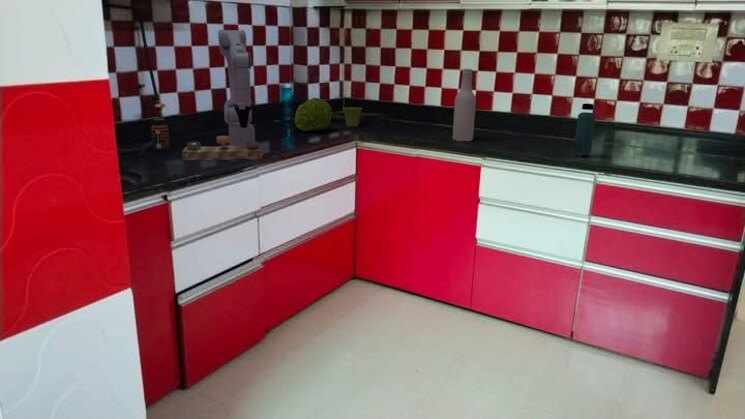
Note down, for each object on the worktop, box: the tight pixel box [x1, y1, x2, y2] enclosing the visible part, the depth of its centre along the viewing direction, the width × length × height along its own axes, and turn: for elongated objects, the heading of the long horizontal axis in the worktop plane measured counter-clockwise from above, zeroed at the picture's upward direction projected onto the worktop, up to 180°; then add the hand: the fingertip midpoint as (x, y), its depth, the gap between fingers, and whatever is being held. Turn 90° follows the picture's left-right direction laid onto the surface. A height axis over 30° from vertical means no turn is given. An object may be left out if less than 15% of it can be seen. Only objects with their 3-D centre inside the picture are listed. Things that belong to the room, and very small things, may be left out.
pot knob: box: [216, 135, 230, 148], centre depth 198 cm, size 4×4×4 cm
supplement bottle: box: [150, 118, 171, 151], centre depth 208 cm, size 6×6×11 cm
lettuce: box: [294, 97, 333, 132], centre depth 258 cm, size 15×25×16 cm
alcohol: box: [452, 68, 477, 142], centre depth 240 cm, size 9×9×30 cm
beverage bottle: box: [572, 102, 596, 155], centre depth 212 cm, size 6×7×20 cm
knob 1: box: [187, 141, 202, 150], centre depth 197 cm, size 4×4×4 cm
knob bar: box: [181, 145, 264, 161], centre depth 199 cm, size 27×9×3 cm, turn 100°
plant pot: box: [342, 106, 363, 128], centre depth 274 cm, size 9×9×9 cm
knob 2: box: [246, 140, 260, 149], centre depth 200 cm, size 4×4×4 cm
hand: (243, 127), depth 199 cm, fingers closed
